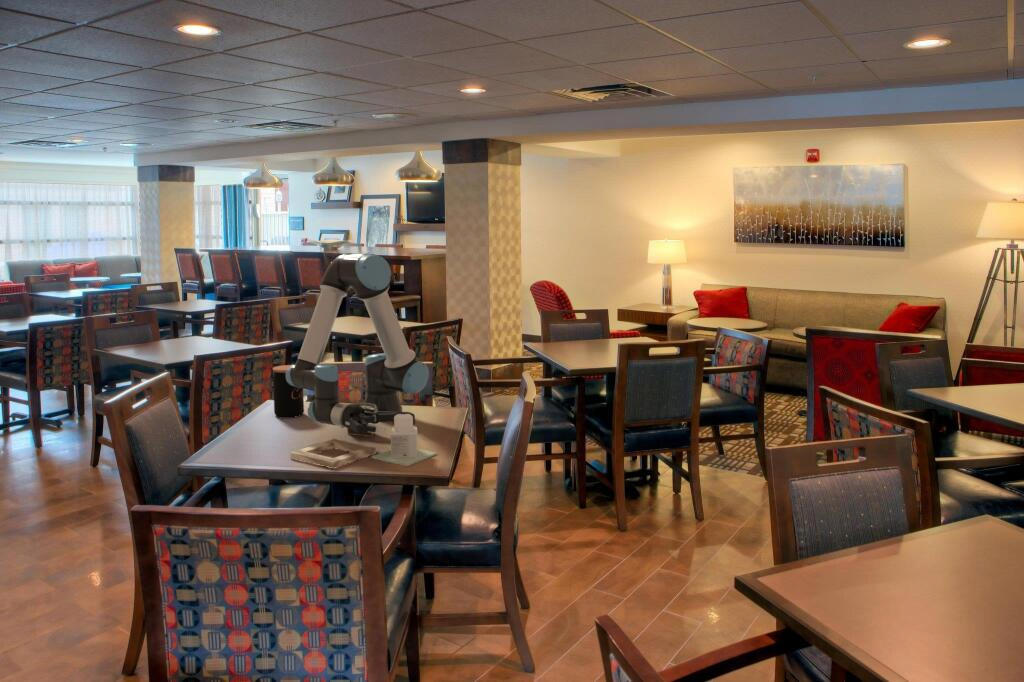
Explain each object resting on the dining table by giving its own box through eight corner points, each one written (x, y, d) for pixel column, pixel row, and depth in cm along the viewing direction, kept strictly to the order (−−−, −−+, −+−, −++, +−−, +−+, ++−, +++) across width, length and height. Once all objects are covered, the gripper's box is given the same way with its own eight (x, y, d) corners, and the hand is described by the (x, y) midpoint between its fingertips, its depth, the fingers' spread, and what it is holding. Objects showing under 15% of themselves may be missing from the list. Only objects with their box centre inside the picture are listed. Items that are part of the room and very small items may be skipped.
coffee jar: (295, 419, 278) (294, 370, 276) (269, 417, 281) (266, 369, 278) (309, 412, 289) (307, 365, 286) (283, 410, 291) (281, 364, 288)
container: (392, 451, 237) (392, 410, 235) (417, 450, 238) (417, 410, 236) (390, 458, 230) (390, 416, 228) (416, 458, 230) (416, 416, 228)
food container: (385, 432, 261) (384, 404, 260) (376, 437, 255) (375, 408, 254) (353, 429, 265) (352, 401, 264) (344, 433, 259) (343, 405, 258)
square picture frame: (334, 444, 246) (334, 438, 246) (375, 454, 236) (375, 447, 236) (290, 458, 231) (290, 452, 231) (333, 469, 221) (333, 462, 221)
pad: (402, 447, 243) (402, 445, 243) (436, 454, 236) (436, 452, 236) (371, 458, 232) (371, 456, 232) (407, 466, 224) (407, 464, 224)
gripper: (375, 419, 256) (425, 428, 245) (320, 436, 235) (372, 447, 224) (374, 397, 254) (425, 405, 243) (319, 412, 233) (371, 422, 222)
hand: (399, 425), depth 233 cm, fingers open, 13 cm apart
